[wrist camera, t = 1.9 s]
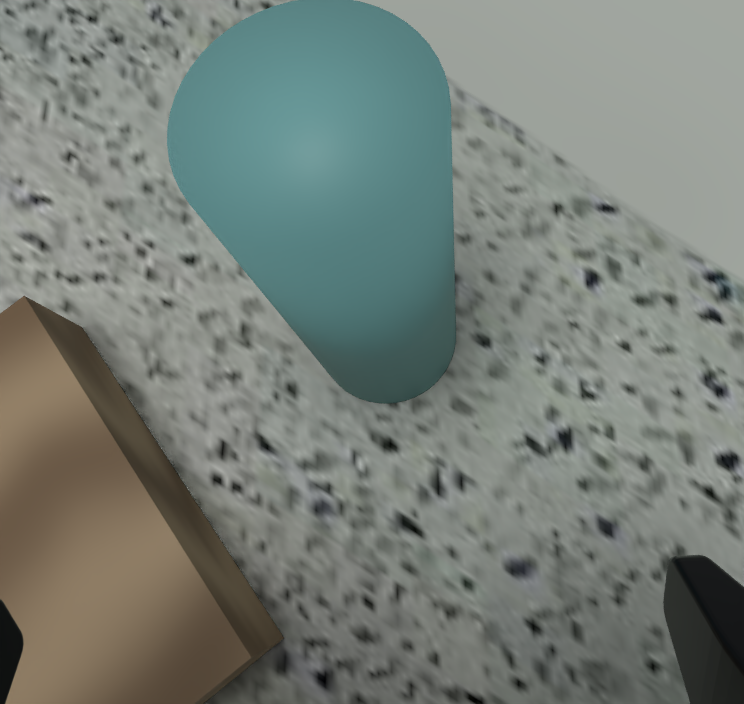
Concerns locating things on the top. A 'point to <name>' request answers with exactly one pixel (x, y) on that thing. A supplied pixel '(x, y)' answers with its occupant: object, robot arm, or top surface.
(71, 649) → the walnut plinth
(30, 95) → the top surface
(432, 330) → the teal post
